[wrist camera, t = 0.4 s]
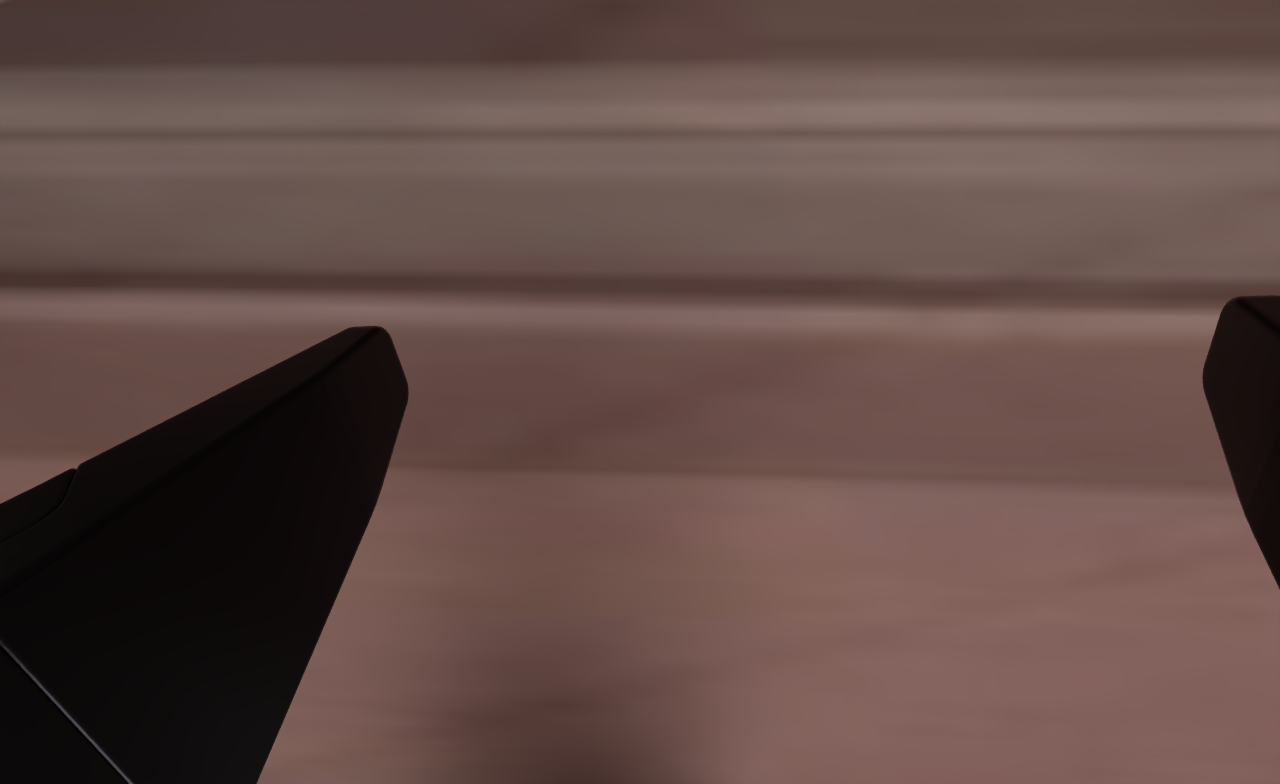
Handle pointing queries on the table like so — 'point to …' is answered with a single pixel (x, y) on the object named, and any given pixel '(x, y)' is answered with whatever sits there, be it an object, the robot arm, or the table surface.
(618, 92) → the table surface
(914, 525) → the table surface
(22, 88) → the table surface
